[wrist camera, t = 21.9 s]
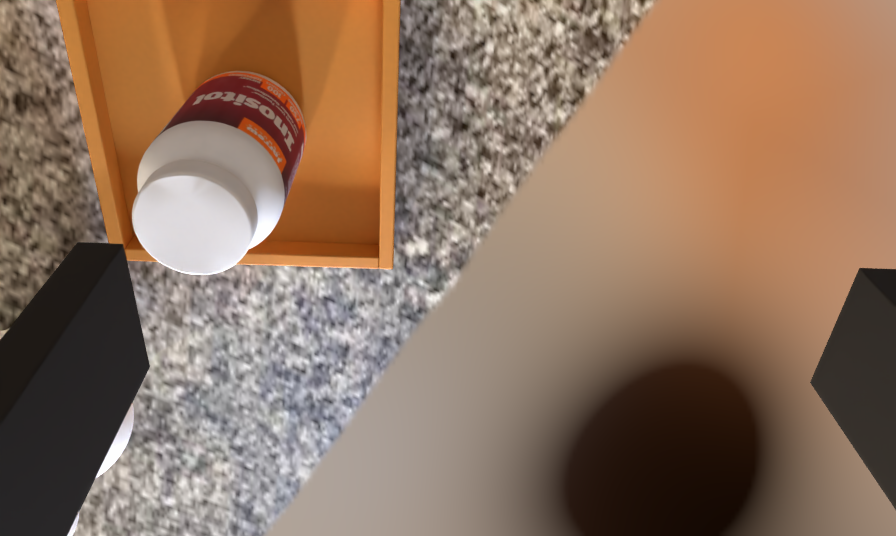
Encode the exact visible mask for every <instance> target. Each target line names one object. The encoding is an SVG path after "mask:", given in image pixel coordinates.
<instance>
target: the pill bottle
mask: <svg viewBox="0 0 896 536" xmlns="http://www.w3.org/2000/svg"><path fill="white" fill-rule="evenodd" d="M305 143H306V126H305V121H304V117H303V114H302V112H301V110H300V108H299V106H298V104H297V102H296V101H295V99H294V98H293V97H292V95H291V94H290V93H289V92H288V91H287V90H286V89H285V88H283V87H282V86H281V85H280V84H278V83H277V82H275V81H273V80H272V79H270V78H268V77H266V76H263V75H261V74H258V73H254V72H248V71H230V72H225V73H221V74H218V75H215V76H213V77H211V78H210V79H208V80H206V81H205V82H204V83H202V84H201V85H200V86H199V87H198V88H197V89H196V90H195V91H194V92H193V93H192V95H191V96H190V97H189V98H188V100H187V101H186V102H185V103H184V104H183V106H182V107H181V108H180V109H179V110H178V112H177V113H176V114H175V115H174V117H173V118H172V119H171V120H170V121H169V123H168V124H167V125H166V126H165V127H164V129H163V130H162V131H161V132H160V134H159V135H158V136H157V137H156V138H155V139H154V141H153V142H152V143H151V145H150V146H149V147H148V149H147V150H146V152H145V153H144V155H143V157H142V160H141V162H140V165H139V169H138V175H137V188H138V194H137V196H136V198H135V200H134V203H133V208H132V223H133V228H134V231H135V233H136V236H137V238H138V240H139V242H140V243H141V244H142V246H143V247H144V248H145V250H146V251H147V252H148V253H149V254H150V255H151V256H152V257H153V258H155V259H156V260H157V261H159V262H160V263H162V264H163V265H165V266H167V267H169V268H171V269H173V270H176V271H179V272H182V273H187V274H193V275H209V274H215V273H219V272H222V271H224V270H227V269H229V268H230V267H232V266H234V265H235V264H236V263H238V262H239V261H240V260H241V259H242V258H243V257H244V255H245V254H246V252H247V251H248V249H251V248H252V247H254V246H256V245H257V244H259V243H260V242H262V241H263V240H264V239H265V238H266V237H267V236H268V235H269V234H270V233H271V232H272V230H273V229H274V227H275V226H276V224H277V222H278V220H279V218H280V216H281V213H282V210H283V208H284V205H285V202H286V199H287V197H288V194H289V191H290V188H291V186H292V183H293V180H294V177H295V174H296V172H297V169H298V166H299V163H300V161H301V158H302V155H303V152H304V148H305Z"/></svg>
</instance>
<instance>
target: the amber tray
mask: <svg viewBox="0 0 896 536" xmlns="http://www.w3.org/2000/svg"><path fill="white" fill-rule="evenodd" d="M400 2H401V0H56V3H57V8H58V12H59V17H60V21H61V26H62V31H63V35H64V40H65V44H66V49H67V54H68V58H69V63H70V67H71V72H72V77H73V81H74V86H75V90H76V95H77V100H78V104H79V109H80V113H81V118H82V122H83V127H84V132H85V136H86V141H87V145H88V150H89V155H90V159H91V164H92V168H93V173H94V178H95V182H96V187H97V191H98V196H99V201H100V205H101V210H102V214H103V219H104V224H105V228H106V233H107V237H108V242H109V243H113V244H123V245H124V250H125V254H126V259H127V260H128V261H152V262H159V261H157V260H156V259H155V258H153V257H152V256H151V255H150V254H149V253H148V252H147V251H146V250H145V248H144V247H143V246H142V244H141V243H140V242H139V240H138V238H137V236H136V233H135V231H134V228H133V223H132V208H133V203H134V200H135V198H136V196H137V194H138V188H137V175H138V169H139V165H140V162H141V160H142V157H143V155H144V153H145V152H146V150H147V149H148V147H149V146H150V145H151V143H152V142H153V141H154V139H155V138H156V137H157V136H158V135H159V134H160V132H161V131H162V130H163V129H164V127H165V126H166V125H167V124H168V123H169V121H170V120H171V119H172V118H173V117H174V115H175V114H176V113H177V112H178V110H179V109H180V108H181V107H182V106H183V104H184V103H185V102H186V101H187V100H188V98H189V97H190V96H191V95H192V93H193V92H194V91H195V90H196V89H197V88H198V87H199V86H200V85H201V84H202V83H204V82H205V81H206V80H208V79H210V78H211V77H213V76H215V75H218V74H221V73H225V72H230V71H248V72H254V73H258V74H261V75H263V76H266V77H268V78H270V79H272V80H273V81H275V82H277V83H278V84H280V85H281V86H282V87H283V88H285V89H286V90H287V91H288V92H289V93H290V94H291V95H292V97H293V98H294V99H295V101H296V102H297V104H298V106H299V108H300V110H301V112H302V114H303V117H304V121H305V126H306V143H305V148H304V152H303V155H302V158H301V161H300V163H299V166H298V169H297V172H296V174H295V177H294V180H293V183H292V186H291V188H290V191H289V194H288V197H287V199H286V202H285V205H284V208H283V210H282V213H281V216H280V218H279V220H278V222H277V224H276V226H275V227H274V229H273V230H272V232H271V233H270V234H269V235H268V236H267V237H266V238H265V239H264V240H263V241H262V242H260V243H259V244H257V245H256V246H254V247H252V248H251V249H248V251H247V252H246V254H245V255H244V257H243V258H242V259H241V260H240V261H239V262H238V263H236V264H246V265H278V266H309V267H340V268H372V269H378V268H380V269H393V258H394V226H395V189H396V152H397V114H398V77H399V40H400Z"/></svg>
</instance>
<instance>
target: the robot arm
mask: <svg viewBox="0 0 896 536" xmlns="http://www.w3.org/2000/svg"><path fill="white" fill-rule="evenodd" d="M149 367H150V365H149V361H148V356H147V352H146V347H145V342H144V338H143V333H142V328H141V324H140V319H139V315H138V310H137V305H136V301H135V296H134V291H133V287H132V282H131V278H130V273H129V268H128V264H127V259H126V254H125V250H124V245H123V244H113V243H82V242H77V244H76V245H75V246H74V247H73V249H72V250H71V251H70V253H69V254H68V255H67V256H66V258H65V259H64V260H63V261H62V263H61V264H60V265H59V266H58V268H57V269H56V270H55V271H54V273H53V274H52V275H51V276H50V278H49V279H48V280H47V282H46V283H45V284H44V285H43V287H42V288H41V289H40V290H39V292H38V293H37V294H36V295H35V297H34V298H33V299H32V300H31V302H30V303H29V304H28V305H27V307H26V308H25V309H24V310H23V312H22V313H21V314H20V316H19V317H18V318H17V319H16V321H15V322H14V323H13V324H12V326H11V327H10V328H9V329H8V331H7V332H6V333H5V334H4V336H3V337H2V338H1V339H0V536H67V535H68V533H69V531H70V529H71V527H72V525H73V523H74V521H75V519H76V517H77V515H78V513H79V511H80V509H81V507H82V504H83V502H84V500H85V498H86V496H87V494H88V492H89V490H90V488H91V486H92V484H93V482H94V480H95V478H96V476H97V474H98V472H99V470H100V468H101V466H102V464H103V461H104V459H105V457H106V455H107V453H108V451H109V449H110V447H111V445H112V443H113V441H114V439H115V437H116V435H117V433H118V431H119V429H120V427H121V425H122V423H123V421H124V418H125V416H126V414H127V412H128V410H129V408H130V406H131V404H132V402H133V400H134V398H135V396H136V394H137V392H138V390H139V388H140V386H141V384H142V382H143V380H144V378H145V375H146V373H147V371H148V369H149ZM810 383H811V384H812V386H813V387H814V389H815V390H816V392H817V393H818V395H819V396H820V398H821V399H822V401H823V402H824V404H825V405H826V407H827V408H828V410H829V411H830V413H831V414H832V415H833V417H834V419H835V420H836V421H837V423H838V425H839V426H840V427H841V429H842V430H843V432H844V434H845V435H846V436H847V438H848V439H849V441H850V442H851V444H852V445H853V447H854V448H855V450H856V451H857V453H858V454H859V456H860V457H861V459H862V460H863V462H864V463H865V465H866V466H867V468H868V469H869V471H870V472H871V474H872V475H873V477H874V478H875V480H876V481H877V483H878V484H879V486H880V487H881V489H882V490H883V492H884V493H885V494H886V496H887V497H888V499H889V500H890V502H891V503H892V505H893V506H894V508H895V509H896V269H872V268H860V269H859V271H858V273H857V275H856V277H855V280H854V282H853V284H852V287H851V289H850V291H849V294H848V296H847V298H846V301H845V303H844V305H843V308H842V310H841V312H840V315H839V317H838V319H837V322H836V324H835V326H834V328H833V331H832V333H831V336H830V338H829V340H828V342H827V345H826V347H825V349H824V352H823V354H822V357H821V359H820V361H819V363H818V366H817V368H816V370H815V373H814V375H813V377H812V380H811V382H810Z"/></svg>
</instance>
